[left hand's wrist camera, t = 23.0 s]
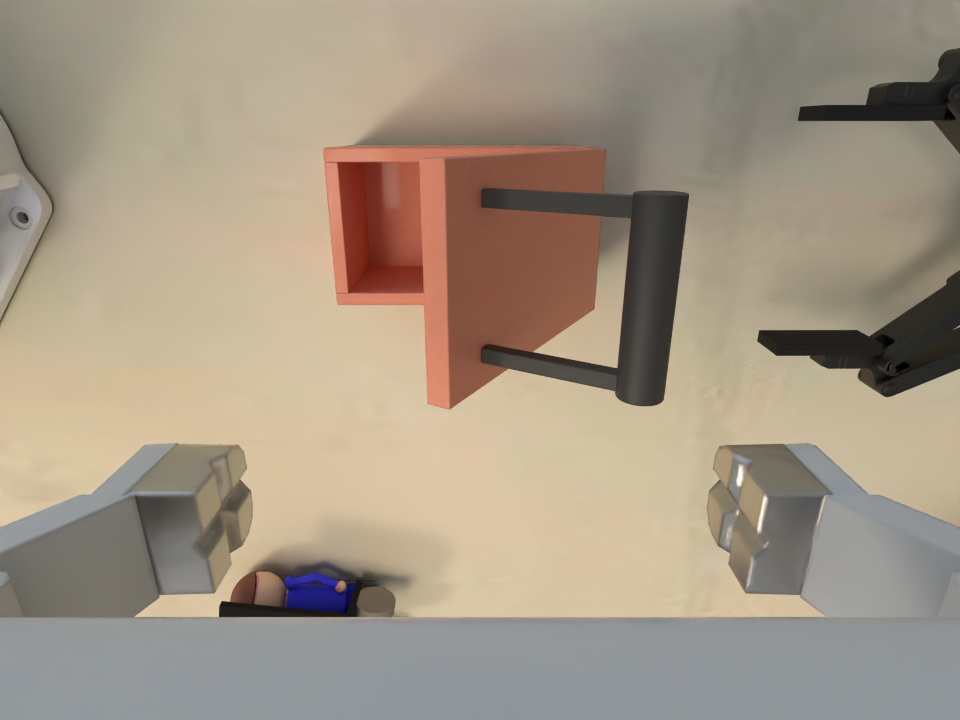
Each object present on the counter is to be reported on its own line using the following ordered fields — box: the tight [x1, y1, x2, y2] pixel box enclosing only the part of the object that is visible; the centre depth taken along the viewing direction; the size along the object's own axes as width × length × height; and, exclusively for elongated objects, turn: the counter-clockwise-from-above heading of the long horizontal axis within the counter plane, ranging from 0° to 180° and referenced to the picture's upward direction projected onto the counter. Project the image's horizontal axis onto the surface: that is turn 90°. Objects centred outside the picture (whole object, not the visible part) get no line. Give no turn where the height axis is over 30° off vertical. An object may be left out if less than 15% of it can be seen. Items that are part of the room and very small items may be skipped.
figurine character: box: [219, 571, 395, 617], centre depth 55 cm, size 7×8×15 cm
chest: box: [323, 145, 589, 305], centre depth 41 cm, size 16×10×9 cm, turn 90°
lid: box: [419, 148, 689, 409], centre depth 27 cm, size 17×10×9 cm
